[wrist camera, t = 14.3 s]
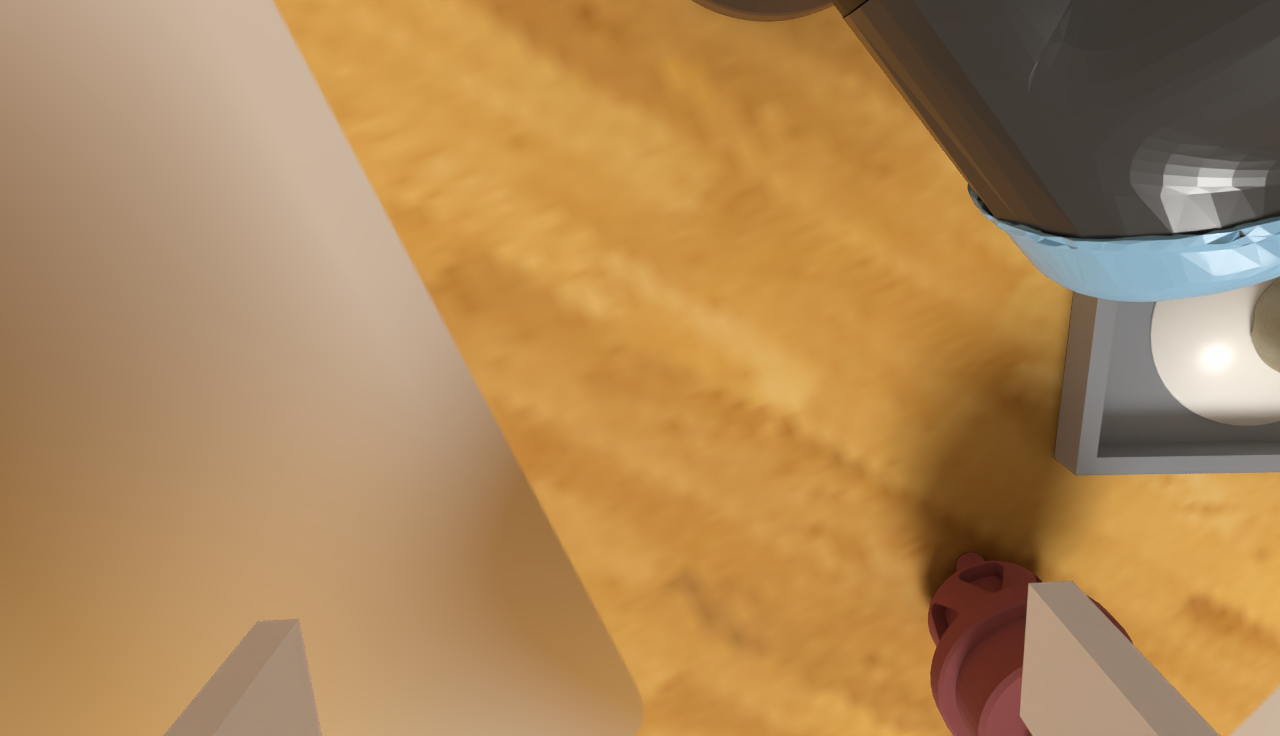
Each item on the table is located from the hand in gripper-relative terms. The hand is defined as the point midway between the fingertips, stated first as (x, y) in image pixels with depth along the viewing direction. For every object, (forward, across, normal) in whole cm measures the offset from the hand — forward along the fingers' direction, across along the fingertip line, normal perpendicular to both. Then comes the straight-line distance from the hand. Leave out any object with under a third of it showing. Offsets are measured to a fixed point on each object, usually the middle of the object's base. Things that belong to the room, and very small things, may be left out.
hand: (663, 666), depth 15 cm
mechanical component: (+31, +18, -18) cm, 41 cm away
